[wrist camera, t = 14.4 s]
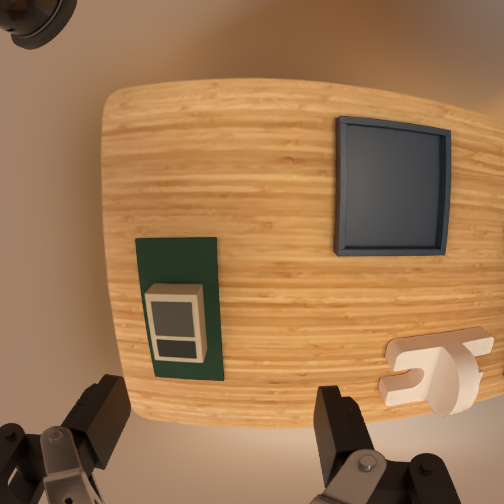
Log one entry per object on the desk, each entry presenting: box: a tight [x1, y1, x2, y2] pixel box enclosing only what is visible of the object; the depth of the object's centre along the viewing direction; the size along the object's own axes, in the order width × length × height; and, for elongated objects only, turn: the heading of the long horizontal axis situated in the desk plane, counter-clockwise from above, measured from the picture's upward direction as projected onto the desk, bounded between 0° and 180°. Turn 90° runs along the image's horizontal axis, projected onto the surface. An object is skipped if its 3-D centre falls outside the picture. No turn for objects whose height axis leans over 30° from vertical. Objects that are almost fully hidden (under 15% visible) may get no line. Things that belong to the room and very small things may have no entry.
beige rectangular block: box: [145, 283, 207, 363], centre depth 37 cm, size 9×6×4 cm
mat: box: [135, 237, 224, 381], centre depth 39 cm, size 20×10×1 cm, turn 1°
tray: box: [334, 116, 451, 256], centre depth 34 cm, size 16×15×2 cm
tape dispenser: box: [378, 327, 494, 416], centre depth 36 cm, size 10×18×11 cm, turn 91°
